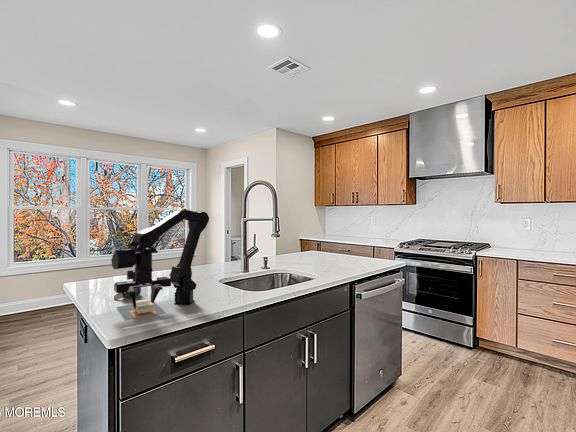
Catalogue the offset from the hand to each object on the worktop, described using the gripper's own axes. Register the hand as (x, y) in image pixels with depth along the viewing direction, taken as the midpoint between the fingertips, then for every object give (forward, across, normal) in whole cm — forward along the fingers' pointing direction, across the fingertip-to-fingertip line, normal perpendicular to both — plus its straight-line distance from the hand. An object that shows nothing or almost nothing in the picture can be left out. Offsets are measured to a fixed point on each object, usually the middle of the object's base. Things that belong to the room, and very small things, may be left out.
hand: (143, 307), depth 117 cm
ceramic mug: (+3, 0, -24) cm, 25 cm away
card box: (+1, 0, 0) cm, 1 cm away
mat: (+2, 0, -4) cm, 5 cm away
